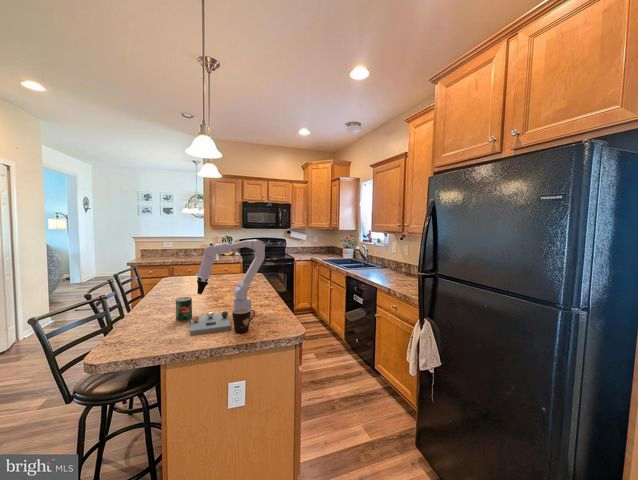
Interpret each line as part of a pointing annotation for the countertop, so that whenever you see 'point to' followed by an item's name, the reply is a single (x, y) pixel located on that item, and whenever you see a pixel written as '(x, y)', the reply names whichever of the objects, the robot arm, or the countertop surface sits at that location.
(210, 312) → the steel ball
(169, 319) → the countertop surface
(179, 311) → the canned tomato
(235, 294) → the robot arm
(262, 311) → the countertop surface
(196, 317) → the terracotta ball
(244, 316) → the coffee mug
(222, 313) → the black rubber ball
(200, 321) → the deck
